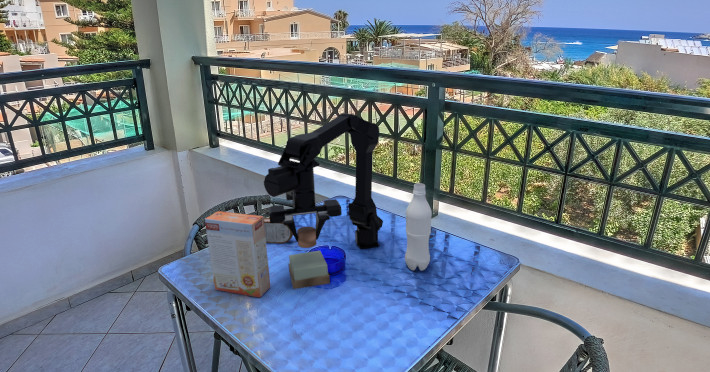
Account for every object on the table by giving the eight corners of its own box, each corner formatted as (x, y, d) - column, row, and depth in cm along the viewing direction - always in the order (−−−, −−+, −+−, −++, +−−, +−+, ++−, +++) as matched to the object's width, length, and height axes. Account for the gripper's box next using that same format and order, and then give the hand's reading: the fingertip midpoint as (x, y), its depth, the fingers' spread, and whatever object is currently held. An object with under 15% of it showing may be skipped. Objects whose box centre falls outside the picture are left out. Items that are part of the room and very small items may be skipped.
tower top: (320, 259, 122) (320, 250, 121) (327, 274, 114) (327, 265, 113) (289, 264, 119) (288, 255, 118) (294, 280, 111) (294, 270, 110)
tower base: (323, 267, 123) (323, 258, 122) (330, 285, 114) (329, 276, 113) (289, 272, 121) (288, 263, 120) (293, 291, 112) (292, 281, 111)
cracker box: (271, 286, 113) (264, 215, 106) (259, 299, 108) (251, 224, 101) (227, 278, 117) (218, 209, 111) (214, 290, 112) (203, 218, 105)
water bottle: (434, 266, 121) (438, 184, 113) (420, 275, 116) (423, 191, 108) (414, 258, 126) (416, 179, 118) (399, 267, 121) (400, 185, 113)
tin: (295, 240, 139) (293, 217, 136) (293, 245, 136) (291, 221, 133) (251, 239, 141) (248, 216, 138) (248, 243, 138) (245, 220, 135)
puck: (314, 238, 117) (314, 225, 115) (318, 246, 112) (317, 232, 111) (296, 241, 116) (295, 227, 114) (299, 249, 111) (298, 235, 110)
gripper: (332, 173, 118) (335, 224, 123) (265, 179, 114) (270, 232, 119) (341, 186, 108) (343, 240, 113) (267, 193, 104) (272, 249, 109)
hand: (307, 240), depth 114 cm, fingers closed on puck, 5 cm apart
